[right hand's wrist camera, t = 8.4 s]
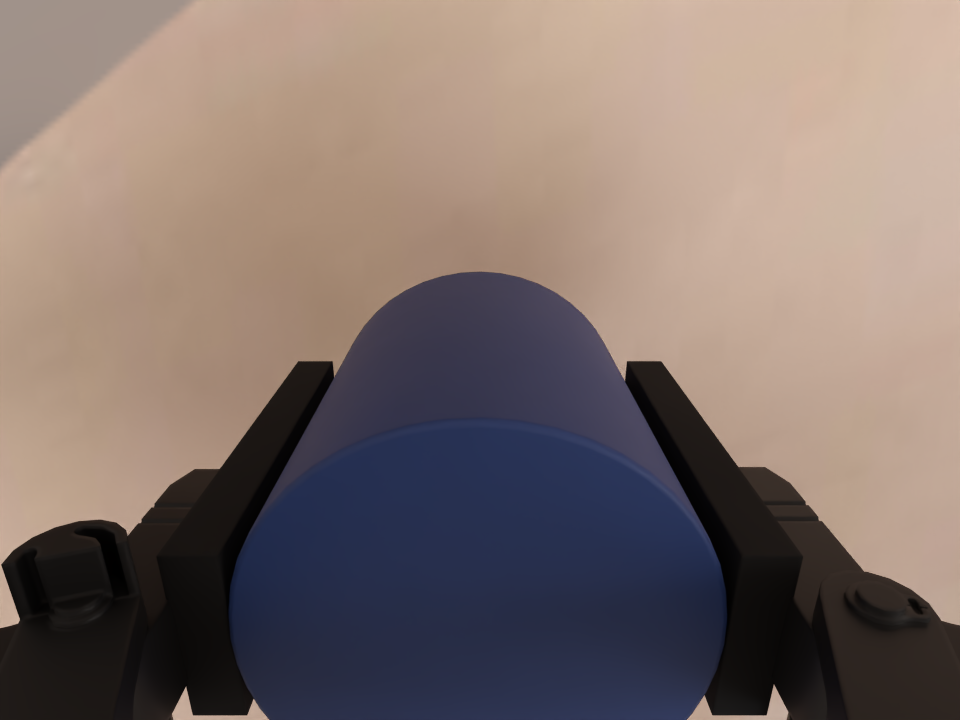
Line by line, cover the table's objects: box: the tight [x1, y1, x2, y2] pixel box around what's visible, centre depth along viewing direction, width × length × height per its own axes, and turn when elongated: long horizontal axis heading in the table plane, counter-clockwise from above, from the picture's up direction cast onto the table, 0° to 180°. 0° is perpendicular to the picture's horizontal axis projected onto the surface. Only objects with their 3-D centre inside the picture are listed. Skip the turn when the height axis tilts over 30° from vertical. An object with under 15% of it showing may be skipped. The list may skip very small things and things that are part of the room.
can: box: [228, 272, 727, 720], centre depth 11 cm, size 6×6×7 cm
